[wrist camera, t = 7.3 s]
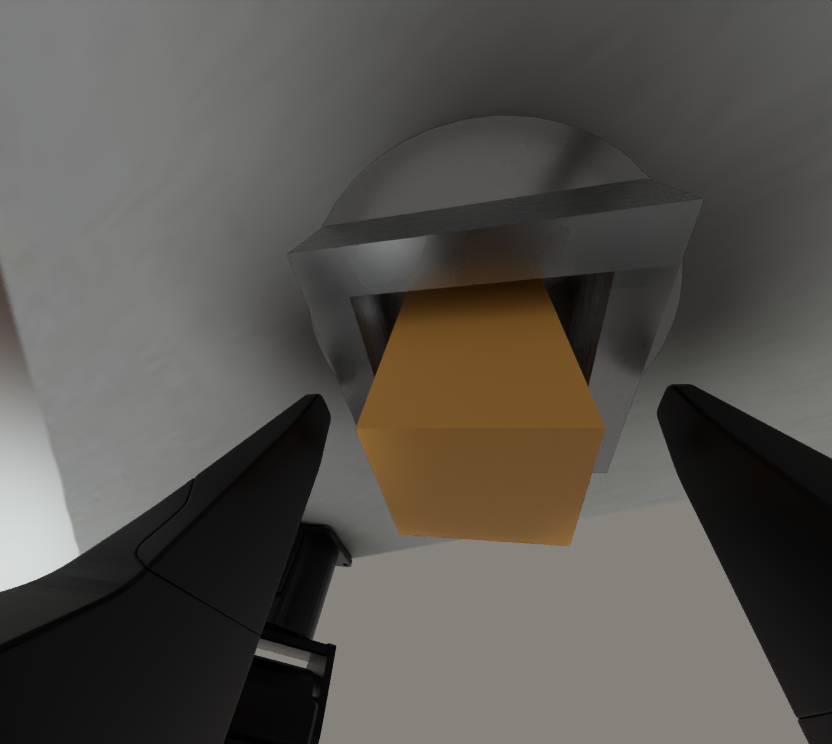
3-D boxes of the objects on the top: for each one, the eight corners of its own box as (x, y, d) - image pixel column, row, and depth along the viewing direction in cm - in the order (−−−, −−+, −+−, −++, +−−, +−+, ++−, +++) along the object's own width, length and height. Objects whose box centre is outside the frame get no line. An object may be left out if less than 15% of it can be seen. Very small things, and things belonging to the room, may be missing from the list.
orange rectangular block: (531, 377, 12) (569, 546, 7) (426, 381, 13) (399, 534, 8) (539, 274, 9) (605, 428, 5) (408, 287, 10) (355, 428, 6)
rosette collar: (618, 433, 14) (651, 503, 11) (364, 432, 16) (344, 490, 14) (748, 60, 7) (916, 26, 4) (258, 161, 9) (176, 178, 7)
